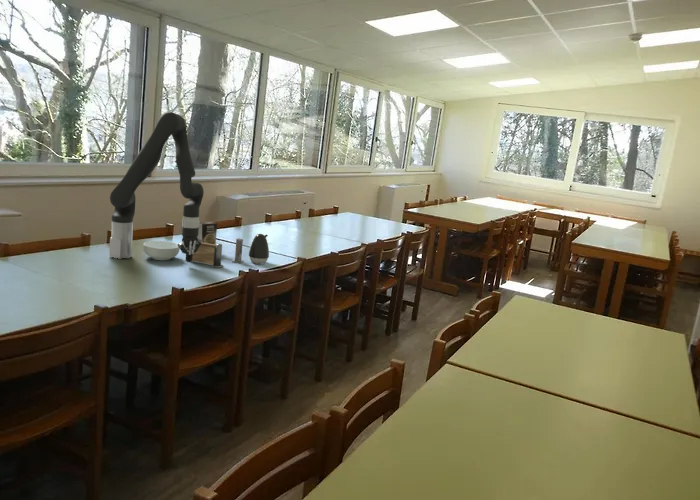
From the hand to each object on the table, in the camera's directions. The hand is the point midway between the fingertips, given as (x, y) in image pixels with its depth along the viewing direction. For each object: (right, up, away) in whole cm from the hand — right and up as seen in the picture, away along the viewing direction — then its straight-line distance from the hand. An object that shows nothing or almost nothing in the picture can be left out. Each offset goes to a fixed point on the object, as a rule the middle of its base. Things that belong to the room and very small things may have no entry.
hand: (188, 261), depth 253 cm
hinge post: (+12, -2, +7) cm, 14 cm away
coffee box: (-1, +4, +31) cm, 31 cm away
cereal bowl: (-16, +1, +10) cm, 19 cm away
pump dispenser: (+29, -1, +23) cm, 37 cm away
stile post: (+19, 0, +20) cm, 27 cm away
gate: (+3, 0, +9) cm, 10 cm away
